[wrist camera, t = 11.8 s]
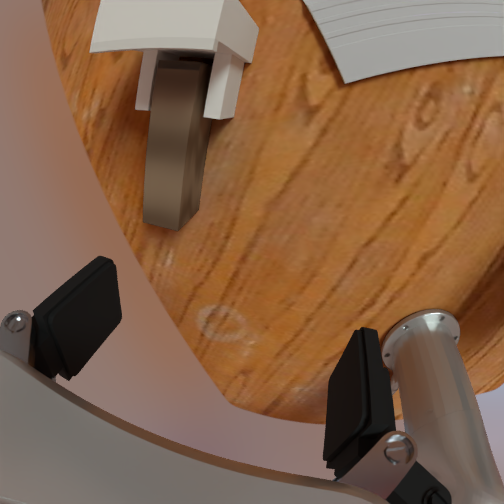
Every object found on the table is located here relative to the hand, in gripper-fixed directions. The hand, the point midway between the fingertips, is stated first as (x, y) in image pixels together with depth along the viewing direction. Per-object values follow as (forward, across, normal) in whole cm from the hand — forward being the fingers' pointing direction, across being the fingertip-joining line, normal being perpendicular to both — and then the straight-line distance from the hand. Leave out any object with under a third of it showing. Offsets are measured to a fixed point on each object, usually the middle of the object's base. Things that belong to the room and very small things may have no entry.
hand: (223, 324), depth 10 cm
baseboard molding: (+23, -13, -25) cm, 36 cm away
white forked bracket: (+22, +11, -12) cm, 27 cm away
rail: (+22, +11, -3) cm, 25 cm away
